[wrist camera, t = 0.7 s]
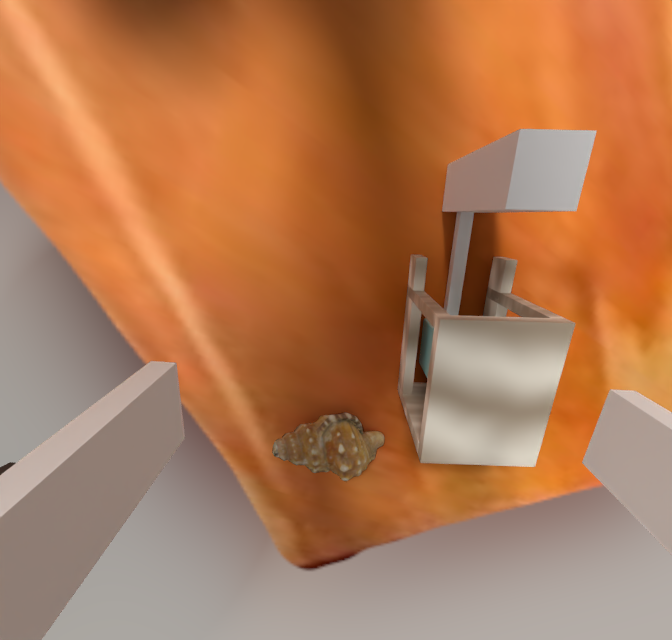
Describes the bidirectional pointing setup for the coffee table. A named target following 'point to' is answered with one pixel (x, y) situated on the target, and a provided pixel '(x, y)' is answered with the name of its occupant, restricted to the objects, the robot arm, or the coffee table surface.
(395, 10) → the coffee table surface
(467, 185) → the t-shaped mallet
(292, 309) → the coffee table surface
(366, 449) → the seashell
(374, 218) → the coffee table surface
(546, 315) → the shelf
